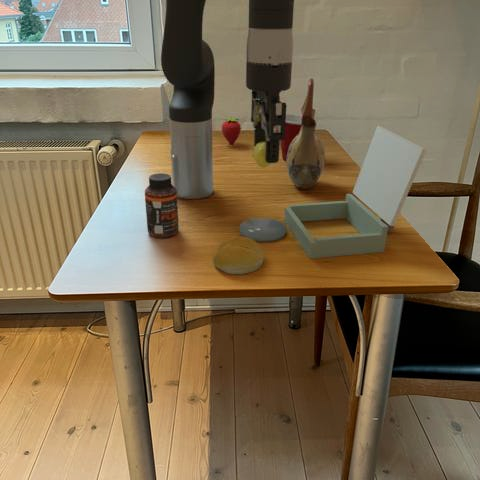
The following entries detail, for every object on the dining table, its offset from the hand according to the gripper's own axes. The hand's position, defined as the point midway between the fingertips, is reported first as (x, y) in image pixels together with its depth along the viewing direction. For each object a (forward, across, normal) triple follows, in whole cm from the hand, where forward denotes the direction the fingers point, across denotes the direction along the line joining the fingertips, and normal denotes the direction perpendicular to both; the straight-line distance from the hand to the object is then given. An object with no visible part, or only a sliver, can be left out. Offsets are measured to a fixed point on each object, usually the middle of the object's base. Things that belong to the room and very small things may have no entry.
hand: (265, 155), depth 83 cm
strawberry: (+15, -61, +5) cm, 63 cm away
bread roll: (+16, +11, -7) cm, 20 cm away
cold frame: (+15, +4, +12) cm, 20 cm away
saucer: (+15, 0, 0) cm, 15 cm away
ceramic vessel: (+15, -23, +16) cm, 32 cm away
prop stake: (+15, +4, +24) cm, 29 cm away
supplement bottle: (+15, -3, -19) cm, 25 cm away
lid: (+3, +4, +21) cm, 22 cm away
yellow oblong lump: (+2, 0, 0) cm, 2 cm away
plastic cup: (+15, -44, +20) cm, 51 cm away
